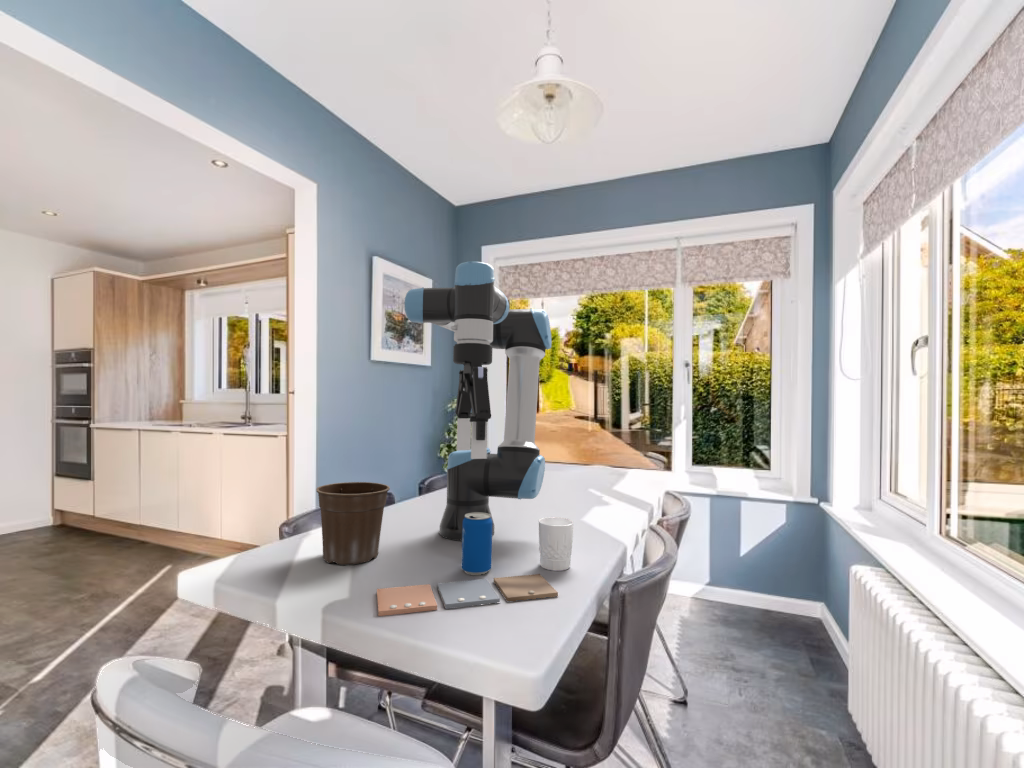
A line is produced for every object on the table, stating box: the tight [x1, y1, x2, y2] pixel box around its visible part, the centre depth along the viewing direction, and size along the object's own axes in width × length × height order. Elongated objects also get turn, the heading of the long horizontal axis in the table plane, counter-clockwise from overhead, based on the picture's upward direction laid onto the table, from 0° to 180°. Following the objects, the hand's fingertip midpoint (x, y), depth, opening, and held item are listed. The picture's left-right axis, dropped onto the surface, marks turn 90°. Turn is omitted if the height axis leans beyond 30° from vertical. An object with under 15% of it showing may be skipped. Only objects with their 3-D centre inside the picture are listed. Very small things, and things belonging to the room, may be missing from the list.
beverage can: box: [461, 512, 493, 576], centre depth 105 cm, size 6×6×12 cm
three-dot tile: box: [376, 583, 438, 617], centre depth 89 cm, size 10×10×1 cm
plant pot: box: [315, 481, 391, 566], centre depth 113 cm, size 16×16×16 cm
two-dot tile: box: [436, 578, 501, 610], centre depth 92 cm, size 10×10×1 cm
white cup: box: [538, 516, 574, 572], centre depth 110 cm, size 8×8×10 cm
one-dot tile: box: [493, 573, 559, 602], centre depth 96 cm, size 10×10×1 cm
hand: (470, 454), depth 93 cm, fingers open, 13 cm apart
